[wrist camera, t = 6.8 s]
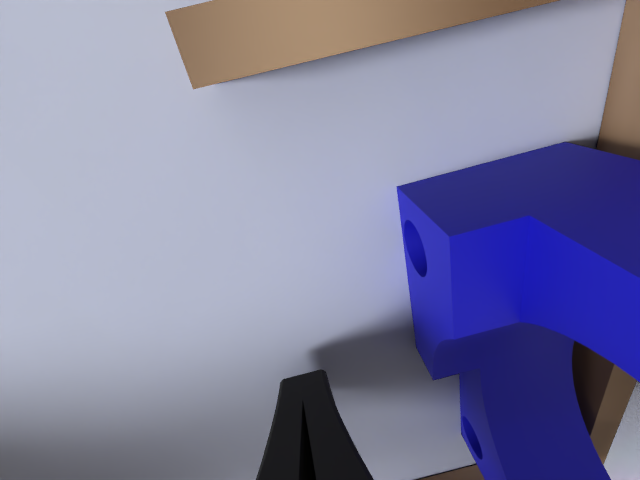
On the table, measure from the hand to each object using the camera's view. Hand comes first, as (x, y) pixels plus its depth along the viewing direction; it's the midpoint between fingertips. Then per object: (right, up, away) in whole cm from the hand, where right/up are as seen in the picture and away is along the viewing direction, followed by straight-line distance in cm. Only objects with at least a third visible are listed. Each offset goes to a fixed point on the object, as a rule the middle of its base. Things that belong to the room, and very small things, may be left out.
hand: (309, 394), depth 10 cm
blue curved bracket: (+6, +2, +1) cm, 6 cm away
